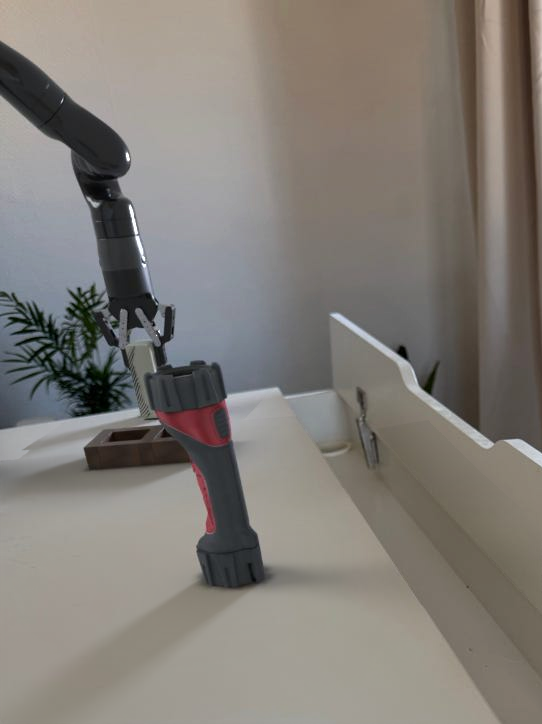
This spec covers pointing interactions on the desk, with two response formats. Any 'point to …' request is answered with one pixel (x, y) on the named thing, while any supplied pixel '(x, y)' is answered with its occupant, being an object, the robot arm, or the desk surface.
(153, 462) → the socket block
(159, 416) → the flashlight
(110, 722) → the desk surface
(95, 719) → the desk surface
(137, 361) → the box
